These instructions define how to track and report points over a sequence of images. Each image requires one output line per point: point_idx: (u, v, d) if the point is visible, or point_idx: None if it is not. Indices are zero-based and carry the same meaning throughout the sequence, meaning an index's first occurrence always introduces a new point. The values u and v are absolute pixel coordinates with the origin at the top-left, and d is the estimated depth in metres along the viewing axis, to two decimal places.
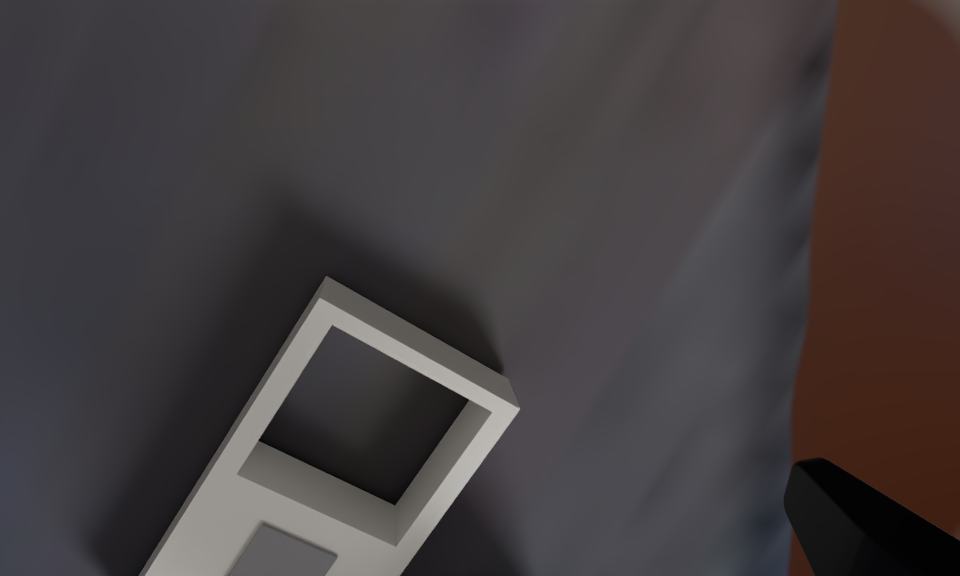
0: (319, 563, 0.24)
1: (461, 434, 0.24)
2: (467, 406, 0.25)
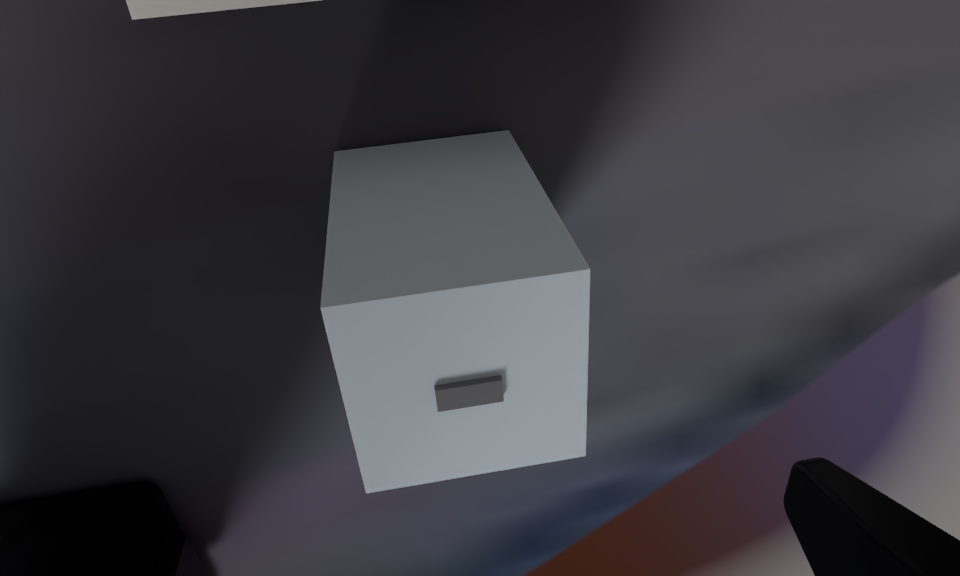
0: None
1: None
2: None
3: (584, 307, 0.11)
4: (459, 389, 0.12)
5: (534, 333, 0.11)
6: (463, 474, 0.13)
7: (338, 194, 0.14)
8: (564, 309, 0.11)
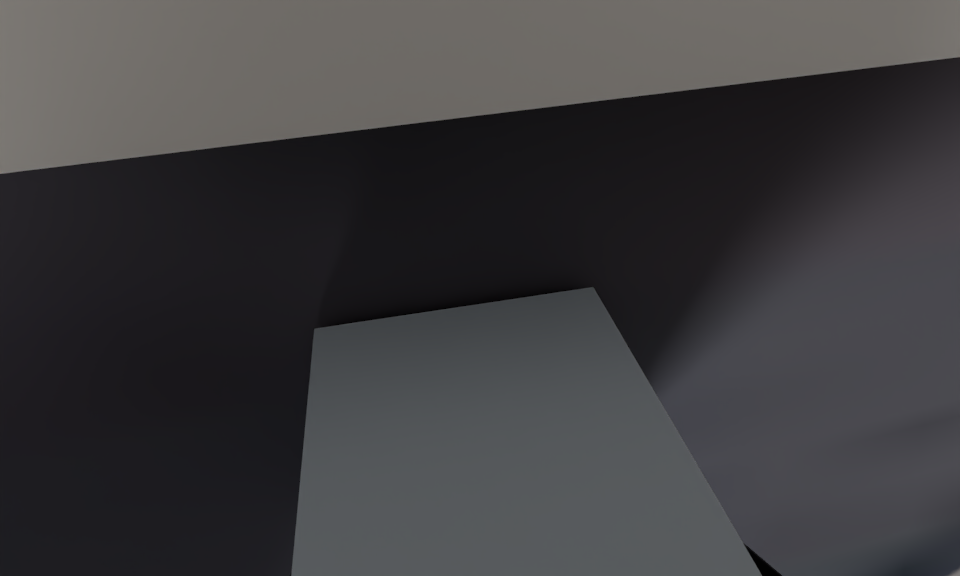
0: None
1: None
2: None
3: None
4: None
5: None
6: None
7: (316, 455, 0.08)
8: None
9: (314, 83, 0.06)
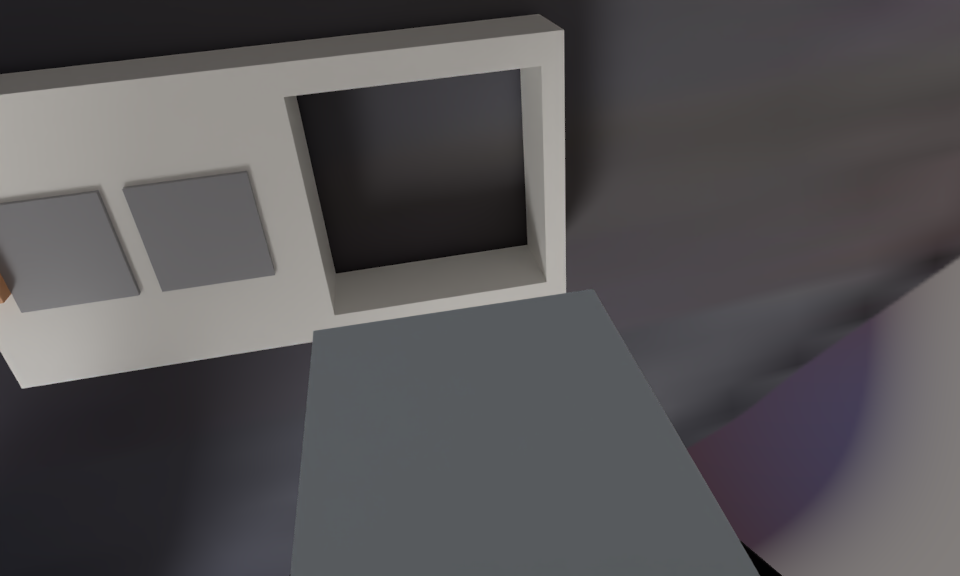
0: (251, 263, 0.18)
1: (483, 273, 0.21)
2: (496, 253, 0.22)
3: None
4: None
5: None
6: None
7: (315, 458, 0.08)
8: None
9: (155, 353, 0.19)
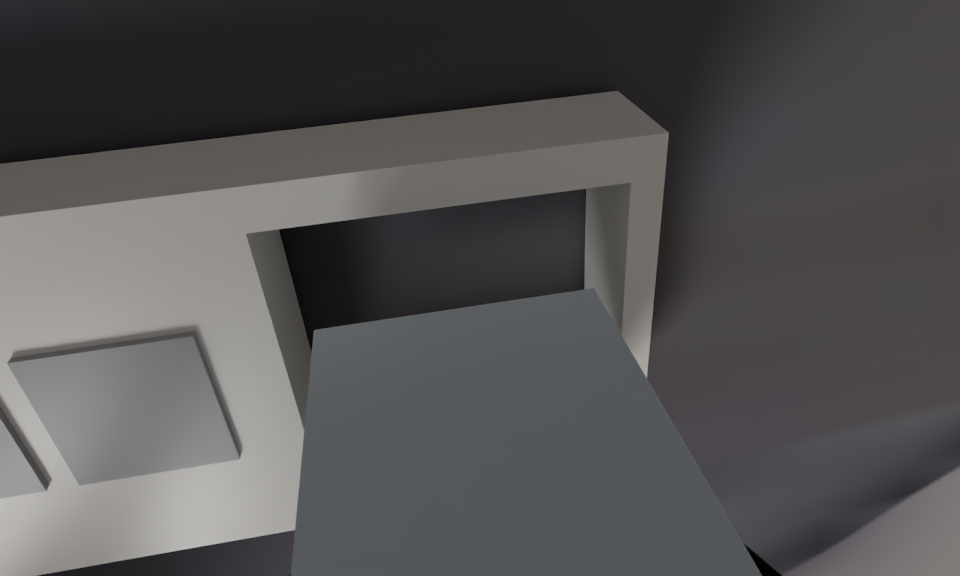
0: (205, 447, 0.12)
1: None
2: None
3: None
4: None
5: None
6: None
7: (316, 457, 0.08)
8: None
9: (76, 553, 0.14)
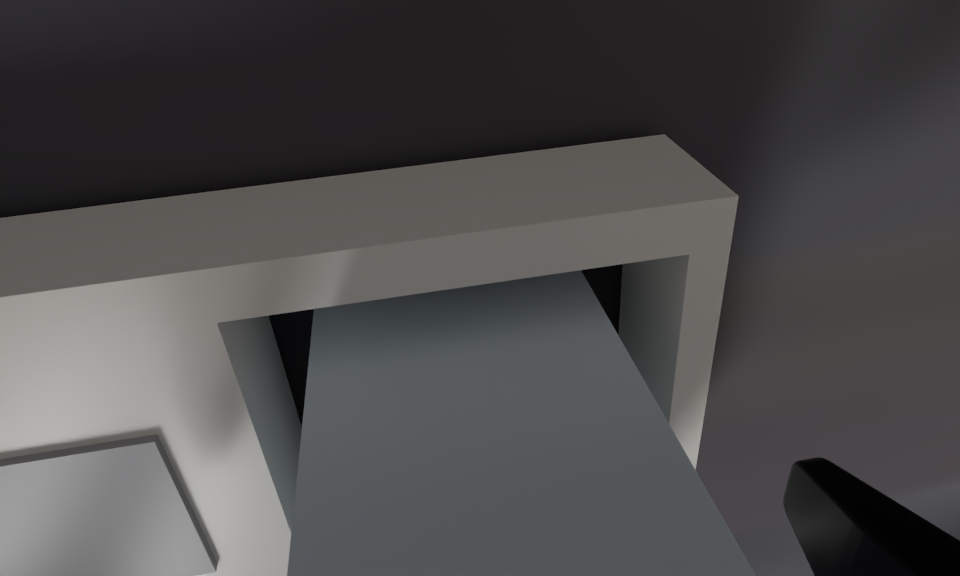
0: (174, 560, 0.10)
1: None
2: None
3: None
4: None
5: None
6: None
7: (319, 375, 0.09)
8: None
9: None
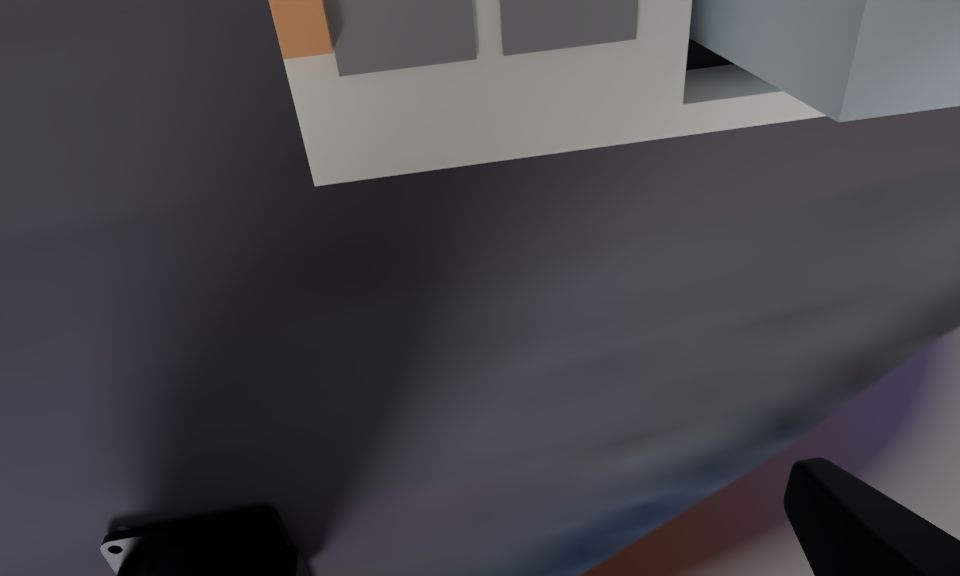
0: (614, 20, 0.14)
1: None
2: None
3: None
4: None
5: None
6: (940, 104, 0.12)
7: None
8: None
9: (471, 146, 0.16)
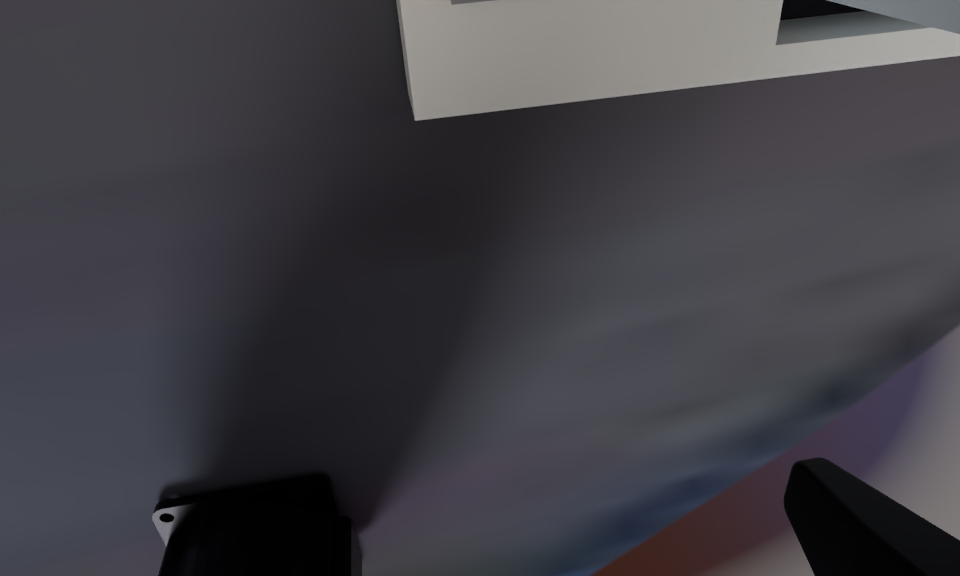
0: None
1: None
2: None
3: None
4: None
5: None
6: None
7: None
8: None
9: (570, 83, 0.16)
